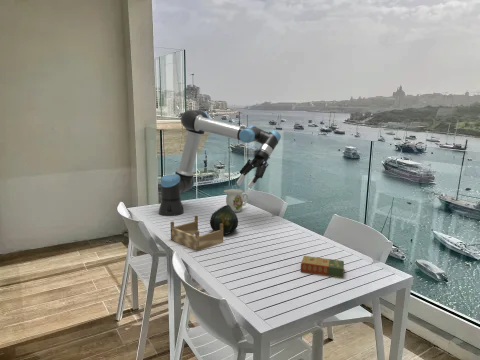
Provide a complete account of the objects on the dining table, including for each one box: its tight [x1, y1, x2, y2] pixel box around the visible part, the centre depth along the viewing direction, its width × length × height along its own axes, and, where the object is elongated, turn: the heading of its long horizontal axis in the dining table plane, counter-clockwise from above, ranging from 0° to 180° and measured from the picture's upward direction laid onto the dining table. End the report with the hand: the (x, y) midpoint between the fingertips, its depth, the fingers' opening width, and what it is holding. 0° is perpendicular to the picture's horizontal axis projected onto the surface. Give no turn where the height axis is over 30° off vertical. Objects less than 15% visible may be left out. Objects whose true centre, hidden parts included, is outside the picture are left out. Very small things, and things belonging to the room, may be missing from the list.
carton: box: [300, 255, 345, 279], centre depth 138 cm, size 8×16×4 cm, turn 72°
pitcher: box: [223, 188, 249, 213], centre depth 222 cm, size 11×18×14 cm, turn 122°
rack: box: [169, 214, 224, 251], centre depth 169 cm, size 20×16×9 cm
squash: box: [209, 204, 239, 235], centre depth 181 cm, size 14×15×15 cm
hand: (243, 185), depth 189 cm, fingers open, 8 cm apart
